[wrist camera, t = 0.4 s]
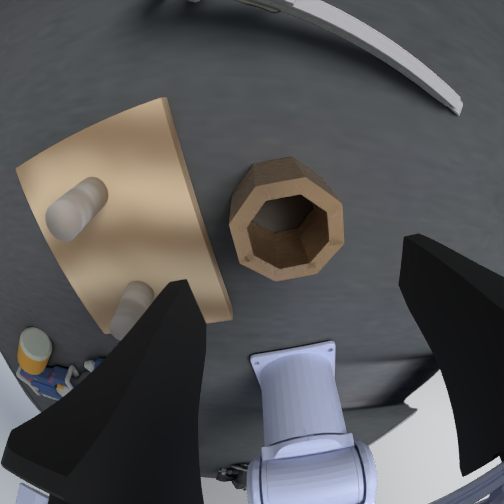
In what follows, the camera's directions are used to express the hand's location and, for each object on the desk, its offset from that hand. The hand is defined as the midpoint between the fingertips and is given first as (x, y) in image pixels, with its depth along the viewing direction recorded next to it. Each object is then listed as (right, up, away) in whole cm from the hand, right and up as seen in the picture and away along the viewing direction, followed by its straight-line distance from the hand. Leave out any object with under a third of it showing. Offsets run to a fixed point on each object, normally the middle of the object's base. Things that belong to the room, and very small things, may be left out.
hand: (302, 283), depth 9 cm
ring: (0, +4, +9) cm, 9 cm away
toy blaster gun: (-24, -13, +20) cm, 34 cm away
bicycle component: (-2, -50, +44) cm, 66 cm away
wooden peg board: (-11, +2, +9) cm, 14 cm away
